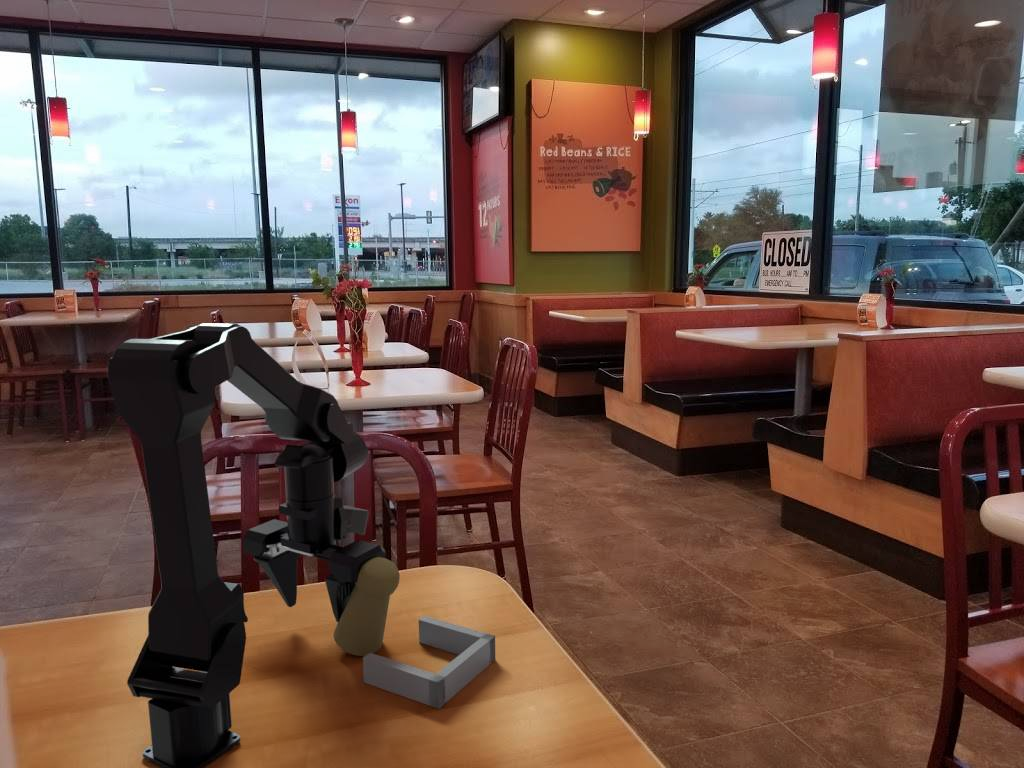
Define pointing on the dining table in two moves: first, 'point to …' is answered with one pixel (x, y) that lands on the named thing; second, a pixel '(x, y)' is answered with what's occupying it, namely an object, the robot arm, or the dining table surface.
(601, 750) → the dining table surface
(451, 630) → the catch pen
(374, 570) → the olive pawn
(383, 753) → the dining table surface
